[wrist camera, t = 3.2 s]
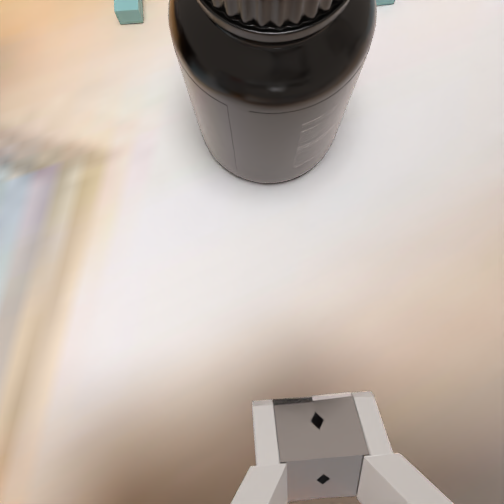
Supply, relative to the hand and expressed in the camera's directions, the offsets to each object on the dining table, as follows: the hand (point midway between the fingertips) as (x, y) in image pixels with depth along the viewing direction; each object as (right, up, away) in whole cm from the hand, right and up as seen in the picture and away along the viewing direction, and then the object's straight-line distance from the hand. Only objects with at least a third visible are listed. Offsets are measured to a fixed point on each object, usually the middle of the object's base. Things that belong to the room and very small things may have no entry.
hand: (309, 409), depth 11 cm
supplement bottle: (-1, +11, +12) cm, 16 cm away
